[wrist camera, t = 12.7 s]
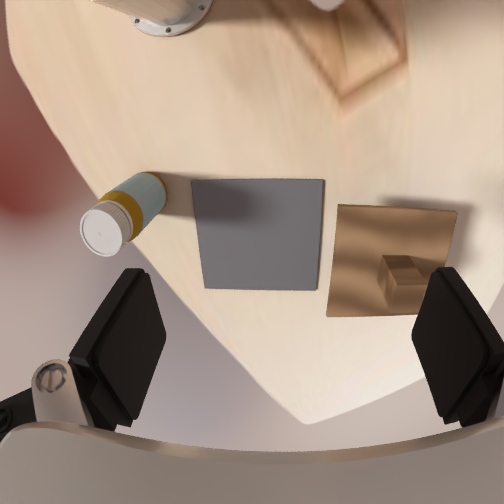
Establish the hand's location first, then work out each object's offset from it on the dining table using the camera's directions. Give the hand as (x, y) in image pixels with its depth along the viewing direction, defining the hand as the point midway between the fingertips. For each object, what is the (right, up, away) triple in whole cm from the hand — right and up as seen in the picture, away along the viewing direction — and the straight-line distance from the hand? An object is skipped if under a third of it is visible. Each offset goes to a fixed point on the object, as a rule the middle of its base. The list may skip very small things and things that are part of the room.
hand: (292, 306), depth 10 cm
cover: (+18, 0, +30) cm, 35 cm away
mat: (0, +4, +38) cm, 38 cm away
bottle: (-18, +11, +36) cm, 42 cm away
